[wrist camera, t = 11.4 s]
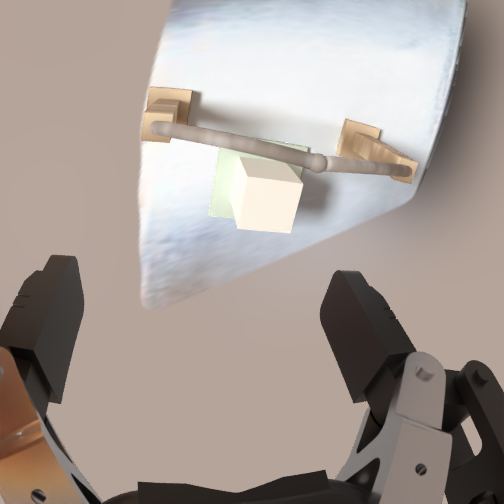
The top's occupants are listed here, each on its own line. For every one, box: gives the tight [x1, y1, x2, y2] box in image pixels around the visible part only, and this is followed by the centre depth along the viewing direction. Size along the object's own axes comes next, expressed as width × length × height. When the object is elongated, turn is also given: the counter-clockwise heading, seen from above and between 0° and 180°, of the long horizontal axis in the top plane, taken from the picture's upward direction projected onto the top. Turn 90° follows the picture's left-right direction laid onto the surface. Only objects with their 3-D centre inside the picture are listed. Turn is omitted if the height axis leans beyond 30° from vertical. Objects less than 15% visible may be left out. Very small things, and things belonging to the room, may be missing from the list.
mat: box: [209, 137, 308, 218], centre depth 34 cm, size 9×9×1 cm
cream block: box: [231, 156, 303, 233], centre depth 31 cm, size 5×5×6 cm
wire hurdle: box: [141, 87, 418, 184], centre depth 25 cm, size 4×24×15 cm, turn 79°
